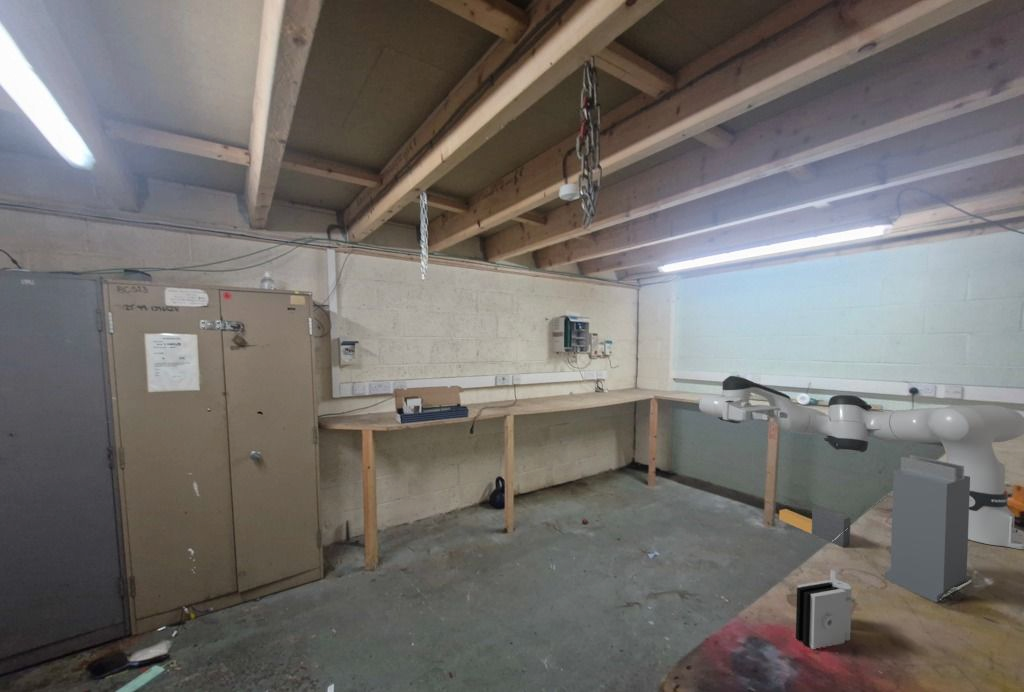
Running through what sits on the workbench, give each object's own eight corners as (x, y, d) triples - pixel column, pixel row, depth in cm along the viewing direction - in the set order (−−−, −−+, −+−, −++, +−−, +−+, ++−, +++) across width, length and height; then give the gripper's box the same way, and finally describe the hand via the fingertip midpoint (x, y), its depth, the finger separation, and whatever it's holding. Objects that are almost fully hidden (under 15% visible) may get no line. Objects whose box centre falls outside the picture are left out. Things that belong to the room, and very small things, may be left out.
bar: (785, 518, 123) (786, 493, 123) (849, 545, 107) (850, 517, 107) (779, 519, 122) (779, 494, 122) (843, 547, 106) (843, 519, 106)
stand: (919, 562, 99) (923, 452, 99) (971, 582, 91) (976, 462, 90) (883, 578, 92) (887, 460, 92) (936, 602, 84) (941, 472, 83)
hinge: (829, 616, 79) (831, 568, 79) (862, 634, 74) (864, 583, 74) (791, 637, 73) (792, 586, 73) (823, 659, 68) (825, 604, 68)
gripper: (756, 415, 145) (796, 423, 133) (719, 419, 137) (757, 428, 124) (757, 399, 145) (796, 405, 132) (720, 402, 137) (758, 409, 124)
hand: (777, 416), depth 128 cm, fingers open, 8 cm apart
